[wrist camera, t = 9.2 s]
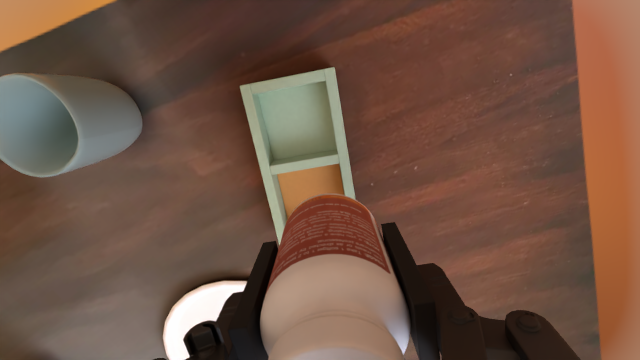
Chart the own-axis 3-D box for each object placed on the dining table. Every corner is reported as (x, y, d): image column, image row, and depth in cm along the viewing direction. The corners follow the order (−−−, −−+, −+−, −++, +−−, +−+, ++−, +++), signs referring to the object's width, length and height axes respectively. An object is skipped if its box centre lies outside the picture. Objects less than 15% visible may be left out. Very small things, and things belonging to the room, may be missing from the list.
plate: (341, 374, 42) (341, 383, 40) (212, 411, 44) (209, 420, 43) (280, 254, 36) (278, 259, 35) (137, 304, 39) (131, 311, 38)
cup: (169, 127, 32) (102, 144, 22) (117, 165, 33) (33, 195, 24) (118, 62, 30) (21, 50, 20) (66, 105, 31) (-48, 112, 22)
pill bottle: (265, 226, 20) (192, 390, 9) (339, 171, 18) (356, 284, 8) (323, 289, 21) (320, 497, 10) (396, 241, 20) (477, 420, 9)
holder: (283, 232, 35) (279, 245, 32) (247, 85, 30) (238, 85, 27) (357, 220, 35) (360, 233, 32) (333, 69, 30) (334, 67, 27)
